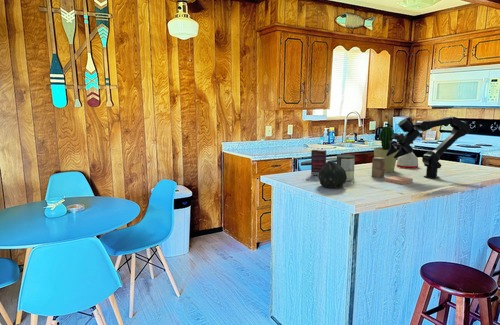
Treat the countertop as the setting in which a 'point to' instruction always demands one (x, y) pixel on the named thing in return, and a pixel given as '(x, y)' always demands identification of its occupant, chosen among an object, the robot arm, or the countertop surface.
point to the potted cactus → (386, 149)
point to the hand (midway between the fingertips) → (390, 156)
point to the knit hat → (407, 161)
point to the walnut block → (378, 167)
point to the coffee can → (347, 164)
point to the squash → (332, 175)
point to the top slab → (399, 180)
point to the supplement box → (317, 161)
